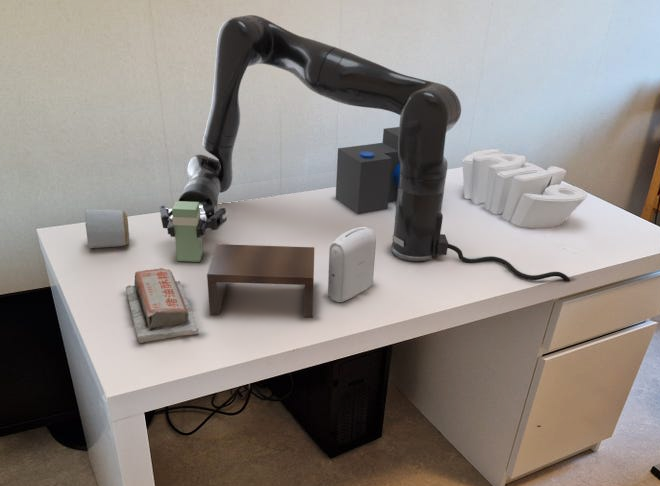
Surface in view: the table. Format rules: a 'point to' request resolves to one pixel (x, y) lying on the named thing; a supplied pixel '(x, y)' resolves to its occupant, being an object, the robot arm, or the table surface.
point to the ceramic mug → (106, 228)
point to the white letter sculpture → (519, 189)
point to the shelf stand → (260, 270)
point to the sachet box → (187, 231)
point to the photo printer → (351, 263)
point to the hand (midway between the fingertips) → (185, 232)
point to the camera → (369, 174)
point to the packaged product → (159, 306)
